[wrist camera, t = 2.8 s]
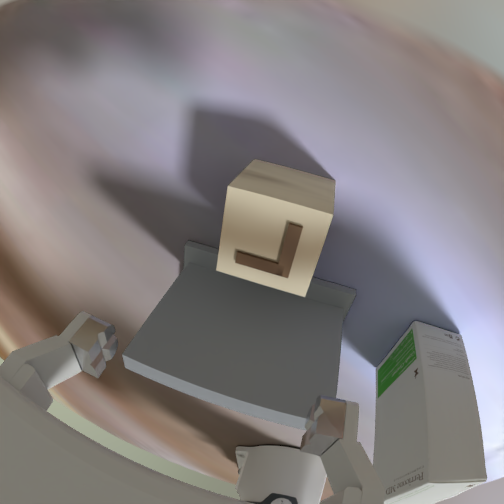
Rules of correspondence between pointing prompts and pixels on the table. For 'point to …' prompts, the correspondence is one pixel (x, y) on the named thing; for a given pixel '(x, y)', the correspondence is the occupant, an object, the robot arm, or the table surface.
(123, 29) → the table surface
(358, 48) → the table surface
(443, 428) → the skincare box
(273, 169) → the letter cube
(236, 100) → the table surface
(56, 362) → the robot arm
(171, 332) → the screen
